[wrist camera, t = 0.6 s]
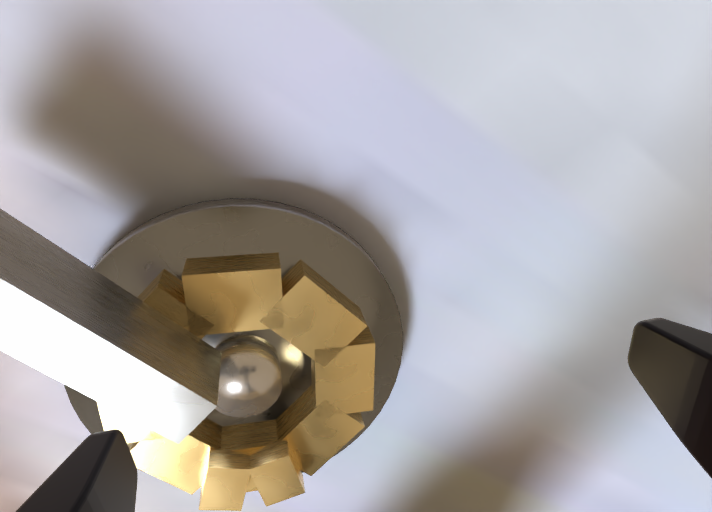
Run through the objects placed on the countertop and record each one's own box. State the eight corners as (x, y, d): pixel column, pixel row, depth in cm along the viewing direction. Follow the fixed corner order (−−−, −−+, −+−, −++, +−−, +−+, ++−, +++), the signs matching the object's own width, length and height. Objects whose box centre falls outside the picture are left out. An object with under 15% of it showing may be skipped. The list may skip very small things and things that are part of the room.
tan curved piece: (413, 351, 23) (451, 421, 19) (256, 498, 25) (258, 593, 20) (73, 73, 16) (8, 82, 12) (-118, 306, 17) (-239, 390, 13)
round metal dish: (453, 328, 25) (476, 359, 22) (259, 508, 27) (260, 555, 25) (223, 121, 19) (219, 133, 16) (-5, 375, 21) (-39, 420, 18)
